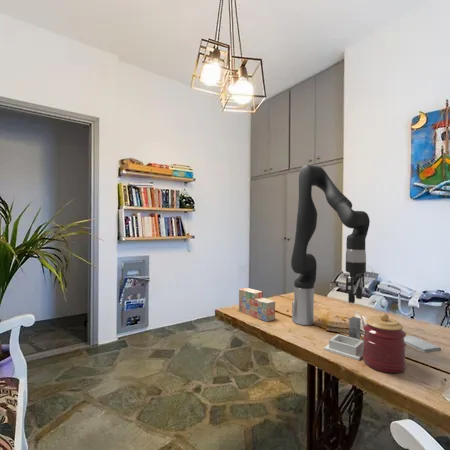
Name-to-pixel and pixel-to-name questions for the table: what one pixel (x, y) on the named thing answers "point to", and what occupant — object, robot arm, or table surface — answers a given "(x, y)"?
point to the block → (354, 327)
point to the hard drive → (420, 344)
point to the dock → (346, 346)
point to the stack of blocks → (256, 304)
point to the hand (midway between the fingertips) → (355, 300)
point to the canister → (384, 344)
